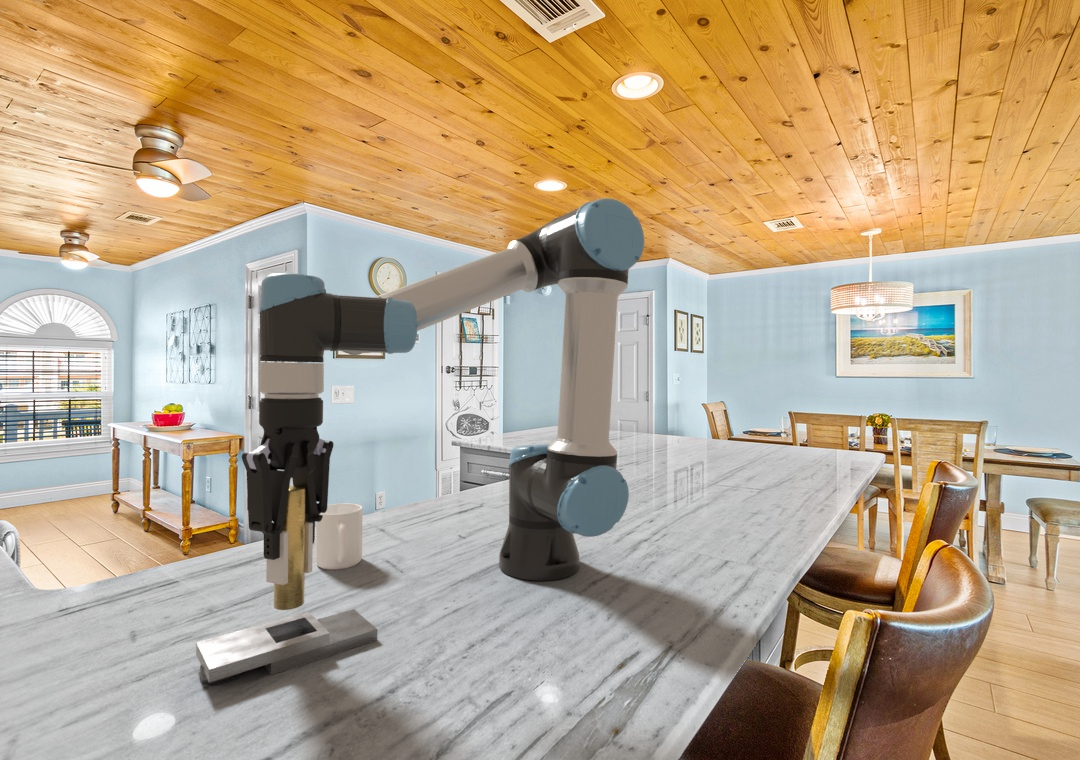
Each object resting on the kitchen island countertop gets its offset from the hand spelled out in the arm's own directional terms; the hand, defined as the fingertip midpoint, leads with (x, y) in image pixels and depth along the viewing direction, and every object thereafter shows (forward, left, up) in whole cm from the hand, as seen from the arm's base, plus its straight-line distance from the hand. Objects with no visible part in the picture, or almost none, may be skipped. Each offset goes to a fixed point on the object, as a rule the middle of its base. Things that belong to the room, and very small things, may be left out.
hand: (290, 576), depth 71 cm
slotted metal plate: (0, 0, -10) cm, 10 cm away
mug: (+15, -28, -10) cm, 33 cm away
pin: (0, 0, -4) cm, 4 cm away
